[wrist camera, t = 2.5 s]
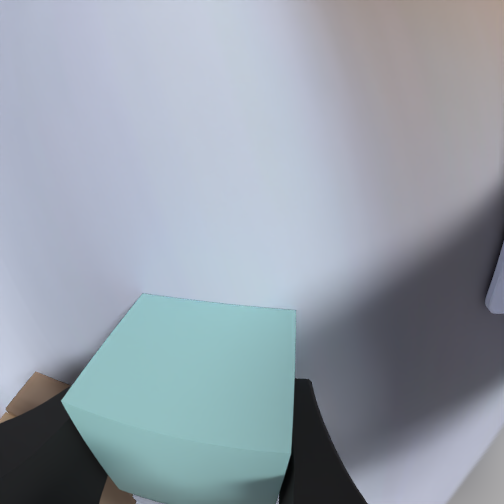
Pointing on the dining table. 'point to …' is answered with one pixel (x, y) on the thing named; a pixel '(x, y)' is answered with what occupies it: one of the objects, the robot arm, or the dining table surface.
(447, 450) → the dining table surface
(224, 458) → the cube
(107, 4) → the dining table surface
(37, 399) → the brown wooden block
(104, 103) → the dining table surface
